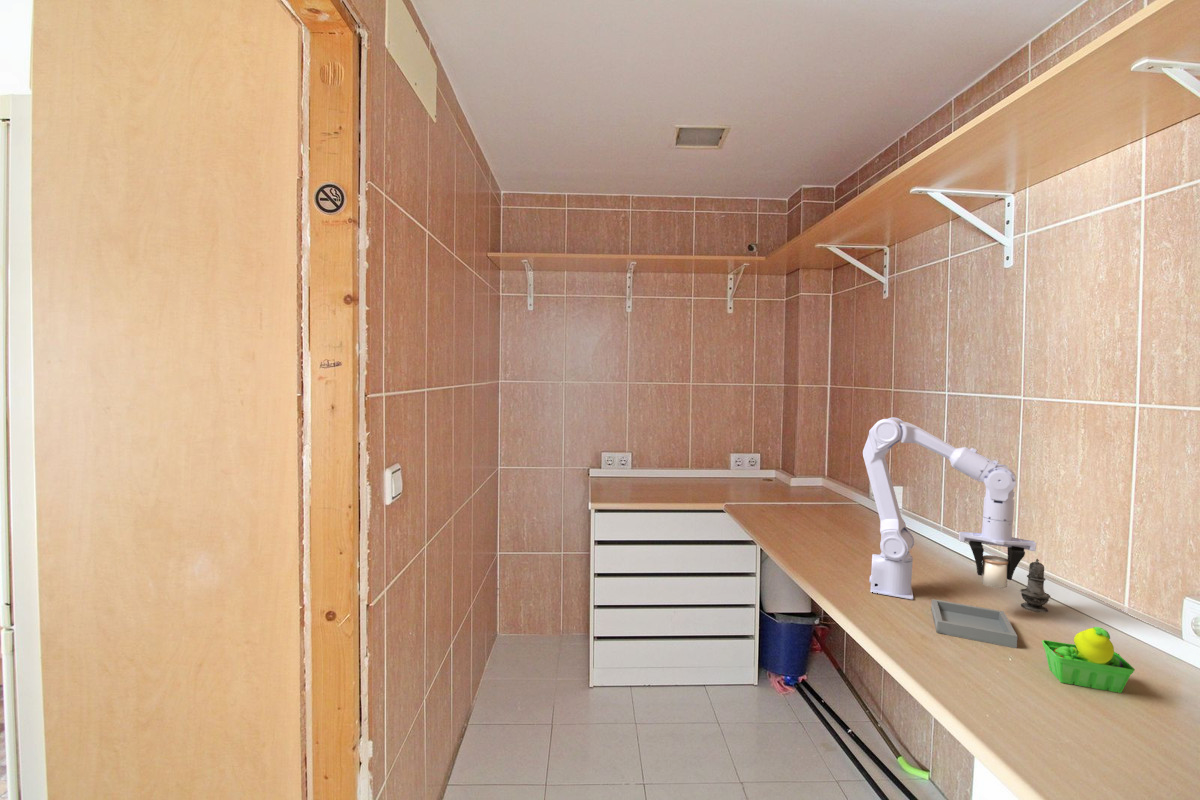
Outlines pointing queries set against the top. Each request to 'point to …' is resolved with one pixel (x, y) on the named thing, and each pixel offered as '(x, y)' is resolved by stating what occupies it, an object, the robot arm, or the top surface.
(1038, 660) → the top surface
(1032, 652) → the top surface
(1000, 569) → the cup
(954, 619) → the tray
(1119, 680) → the fruit basket
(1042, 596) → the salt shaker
